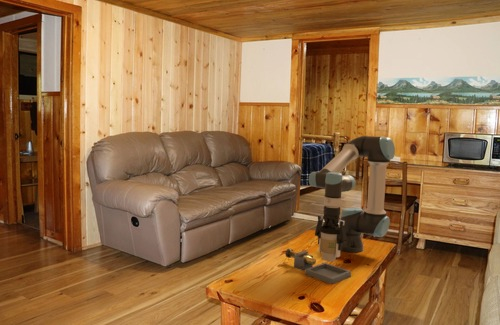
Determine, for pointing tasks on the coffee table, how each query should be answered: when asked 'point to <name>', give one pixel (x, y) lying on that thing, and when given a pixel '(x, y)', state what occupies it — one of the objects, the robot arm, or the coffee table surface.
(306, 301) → the coffee table surface
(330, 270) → the grey square tray
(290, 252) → the lock pin
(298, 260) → the pin mount
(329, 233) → the coffee cup
